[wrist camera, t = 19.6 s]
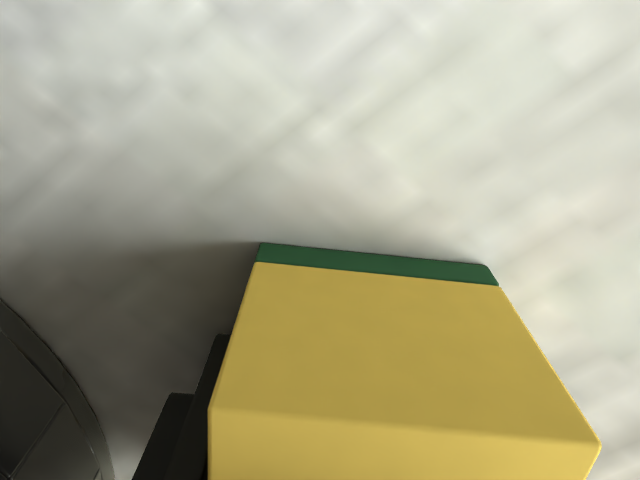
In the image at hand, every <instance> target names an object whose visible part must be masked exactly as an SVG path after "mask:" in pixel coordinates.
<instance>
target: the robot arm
mask: <svg viewBox="0 0 640 480" xmlns="http://www.w3.org/2000/svg"><path fill="white" fill-rule="evenodd" d="M230 337H231V335H222V334H217V335H216V337H215V339H214V342H213V345H212V347H211V350H210V353H209V356H208V358H207V361H206V364H205V367H204V369H203V372H202V375H201V377H200V380H199V383H198V386H197V388H196V391H195V394H184V393H173V392H172V393H171V394H170V395H169V397H168V398H167V400H166V402H165V405H164V407H163V409H162V412H161V414H160V416H159V418H158V421H157V423H156V425H155V428H154V430H153V432H152V434H151V437H150V439H149V441H148V444H147V446H146V448H145V451H144V453H143V455H142V457H141V460H140V462H139V464H138V467H137V469H136V471H135V474H134V476H133V478H132V480H208V406H209V403H210V400H211V397H212V394H213V391H214V388H215V384H216V381H217V378H218V375H219V372H220V369H221V366H222V362H223V359H224V356H225V353H226V350H227V347H228V344H229V340H230Z"/></svg>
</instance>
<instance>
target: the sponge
mask: <svg viewBox="0 0 640 480" xmlns="http://www.w3.org/2000/svg"><path fill="white" fill-rule="evenodd" d="M600 451H601V442H600V440H599V439H598V437H597V435H596V434H595V432H594V431H593V429H592V428H591V426H590V425H589V423H588V422H587V420H586V418H585V417H584V415H583V414H582V412H581V411H580V409H579V408H578V406H577V405H576V403H575V401H574V400H573V398H572V397H571V395H570V394H569V392H568V391H567V389H566V388H565V386H564V384H563V383H562V381H561V380H560V378H559V377H558V375H557V374H556V372H555V371H554V369H553V367H552V366H551V364H550V363H549V361H548V360H547V358H546V357H545V355H544V354H543V352H542V350H541V349H540V347H539V346H538V344H537V343H536V341H535V340H534V338H533V337H532V335H531V333H530V332H529V330H528V329H527V327H526V326H525V324H524V323H523V321H522V320H521V318H520V316H519V315H518V313H517V312H516V310H515V309H514V307H513V306H512V304H511V303H510V301H509V299H508V298H507V296H506V295H505V293H504V292H503V290H502V289H501V287H499V284H498V282H497V281H496V279H495V278H494V276H493V274H492V273H491V271H490V270H489V268H488V267H487V266H485V265H477V264H467V263H457V262H447V261H437V260H428V259H418V258H408V257H398V256H388V255H378V254H368V253H359V252H349V251H339V250H329V249H319V248H309V247H299V246H290V245H280V244H270V243H261V244H260V246H259V249H258V252H257V255H256V258H255V263H254V265H253V268H252V271H251V274H250V278H249V281H248V284H247V287H246V290H245V293H244V296H243V300H242V303H241V306H240V309H239V312H238V315H237V318H236V322H235V325H234V328H233V331H232V334H231V337H230V340H229V344H228V347H227V350H226V353H225V356H224V359H223V362H222V366H221V369H220V372H219V375H218V378H217V381H216V384H215V388H214V391H213V394H212V397H211V400H210V403H209V406H208V480H586V478H587V476H588V474H589V472H590V470H591V468H592V466H593V464H594V462H595V460H596V458H597V456H598V454H599V453H600Z"/></svg>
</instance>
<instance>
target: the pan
mask: <svg viewBox="0 0 640 480" xmlns="http://www.w3.org/2000/svg"><path fill="white" fill-rule="evenodd" d="M0 480H115V479H114V471H113V467H112V462H111V458H110V454H109V449H108V446H107V443H106V441H105V438H104V436H103V433H102V431H101V428H100V426H99V424H98V421H97V419H96V416H95V414H94V413H93V411H92V409H91V408H90V406H89V404H88V402H87V401H86V399H85V397H84V396H83V394H82V392H81V391H80V389H79V387H78V386H77V384H76V382H75V381H74V380H73V378H72V377H71V376H70V374H69V373H68V372H67V371H66V369H65V368H64V367H63V365H62V364H61V363H60V361H59V360H58V359H57V358H56V356H55V355H54V354H53V352H52V351H51V350H50V349H49V347H48V346H47V345H46V344H45V343H44V342H43V341H42V340H41V339H40V338H39V337H38V336H37V335H36V334H35V333H34V332H33V331H32V330H31V329H30V328H29V327H28V326H27V325H26V324H25V322H24V321H23V320H22V319H21V318H20V317H19V316H18V315H17V314H16V313H15V312H13V311H12V310H11V309H10V308H9V307H8V306H6V305H5V304H4V303H3V302H2V301H1V300H0Z"/></svg>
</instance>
